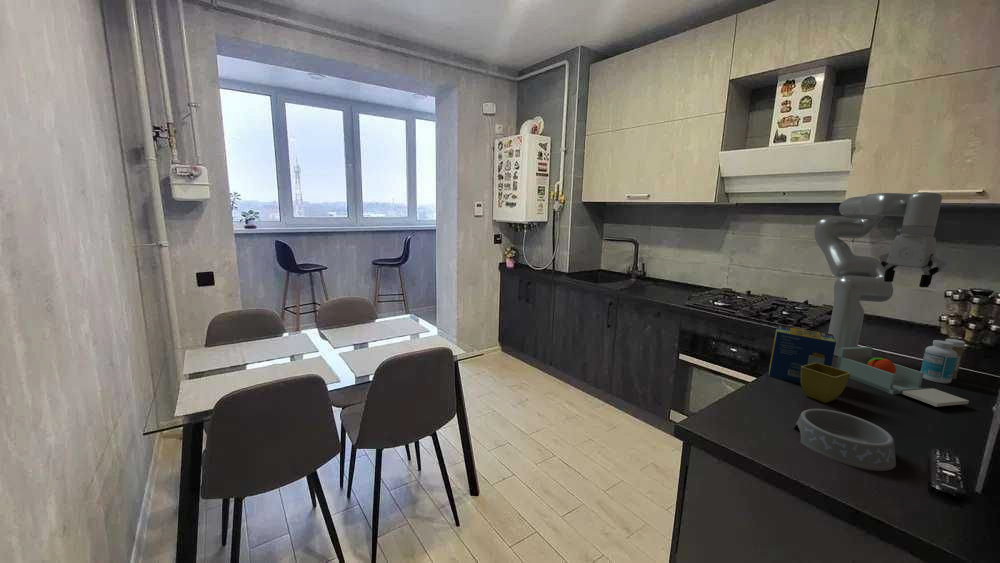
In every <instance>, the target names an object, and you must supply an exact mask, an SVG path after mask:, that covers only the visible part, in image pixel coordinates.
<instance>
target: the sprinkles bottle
mask: <svg viewBox="0 0 1000 563" xmlns="http://www.w3.org/2000/svg"><path fill="white" fill-rule="evenodd" d="M944 341H946V342H951V343H953V344H954V346H953V348H952V350H954V351H956V352H957V354H958V355H957V360H956V364H955V368H954V372H953V377H952V380H957V375H958V371H959V368H960V366H961V360H962V356H963V351H964V348H965V347H966V341H964V340H960V339H954V338H945V340H944Z"/></svg>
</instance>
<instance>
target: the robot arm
mask: <svg viewBox="0 0 1000 563" xmlns="http://www.w3.org/2000/svg"><path fill="white" fill-rule="evenodd" d="M942 202H943V196H942V194H941V193H937V192H915V193H900V192H898V193H897V192H878V193H870V194H866V195H863V196H862V195H861V196H854V197H853V196H852V197H849V198H846V199H844V200H843V201H842V202H841V203H840V204H839V207H838V211H839V213H840V214H841V215H842V216H827V217H823V218H821V219H819V220H818V221H817V223H815V227H814V234H813V235H814V239H815V242H816V243H817V245H818V247H819V248H820V250H821V251H822V253H823V254H824V257H825V259H826V261H827V265H828V266H829V269H830V271H831V273H832V274H833V275H834V277H836V278H837V279H836V280H835V281H834V285H833V305H832V312H831V317H830V323H829V328H828V332H827V334H832V335H833V336H834V339H835V341H836V345H835V351H834V355H833V356H836V357H838V354H839V349H840V348H848V347H859V346H858V345H859V342H860V336H861V331H862V327H863V323H864V322H863V321H864V316H865V310H864V307H863V306H862V304H861V302H863V301H864V302H875V303H882V302H887V301H888V300H890V299H891V298H892V296H893V294H894V287H893V283H892V282H894V278H895V273H896V270H894V269H896V268H898V267H906V268H916V269H918V268H920V270H921V271H922V272H923V274H921V277H920V281H919V288H929V286H930V285H931V282H932V280H933V276H934V275H936V274H937V273H940V271H942V269H943V268H944V267H945V266H947V262H946V261H944V259H941V258H939V257H937V256H936V252H937V250H936V249H937V241H936V240H937V239H936V237H935V236H934V235H935V231H936V227H937V222H938V218H939V213H940V210H941V205H942ZM885 216H886V217H888V216H892V217H903V221H902V223H901V224H902V225H901V227H897V229H896V232H899V235H896V237H895V238H894V240H893V242H892V245H891V248H890V250H889V253H884V254H883V255H880V256H879V257H878V258H879V259H877V258H875V257H872V256H863V255H856V254H854V253H853V252H852V249H851V247H850V246H849V245H848V244H847V243H846V242H845V241H843V240H842V239H841V238H844V239H860V238H863V237H865V236H866V235H868V234H869V233H871V231H872V230H873V229H874V228H875V227H876V226H877V225H878V224H879V223H880V222H881V221H882V220H883V219H884V217H885ZM934 263H935V264H936V265H935V266H934V267H933V265H934Z"/></svg>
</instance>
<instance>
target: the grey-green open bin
mask: <svg viewBox="0 0 1000 563" xmlns="http://www.w3.org/2000/svg"><path fill="white" fill-rule="evenodd" d="M873 349H874V348H873V347H871V346H857V347H848V348H840V349H839V354H838V356H837V360H836V366H835V368H836V369H840V370H843V371H846V372H849V373H850V376H849V379H851V380H852V381H853V380H854V381H856V382H859V383H860V384H864V385H867V386H868V387H872V388H874V389H877V390H880V391H882V392H885V393H887V394H890V395H903V394H902V393H899V392H898V390H906V389H919V388H923V387H922V383H923V379H924V378H923V375H924V373H923V372H920V371H921V370H920V371H919V370H917V369H913V368H910V367H907V366H905V365H901V364H899V363H894V362H892V363H893V364H894V365H895V368H896V372H895V374H893V373H890V372H887V371H884V370H881V369H878V368H875V367H872V366H869V365H867V363H868V361H869V360H871V359H873V358H877V357H876V356H872V352H873Z"/></svg>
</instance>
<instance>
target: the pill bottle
mask: <svg viewBox="0 0 1000 563" xmlns="http://www.w3.org/2000/svg"><path fill="white" fill-rule="evenodd" d="M953 346H954V344H953V343H951V342H946V341H945V340H940V339H934V340H933V341H932V345H930V346H927V347H926V348H925V350H924V354H923V359H922V362H921V366H920V367H921V368H920V372H923V373H924V375H923V379H924V380H927V381H930V382H934V383H940V384H951V383H952V380H953V379H952V377H953V372H954V368H955V364H956V360H957V355H958V354H957V352H956V351H954V350H952V348H953Z"/></svg>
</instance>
